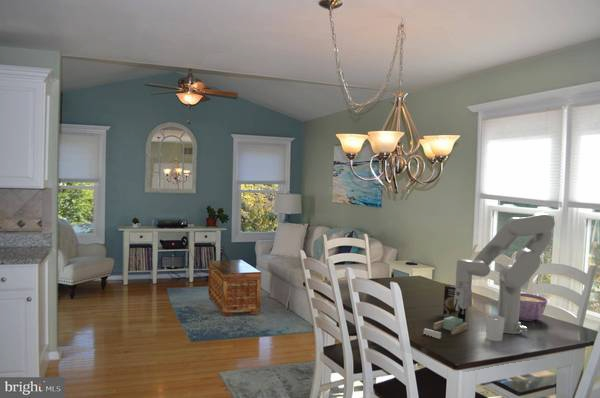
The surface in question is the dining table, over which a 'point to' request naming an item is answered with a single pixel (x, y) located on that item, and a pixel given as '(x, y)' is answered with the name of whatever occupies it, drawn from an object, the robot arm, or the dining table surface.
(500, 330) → the white cup
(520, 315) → the bowl of food
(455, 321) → the block
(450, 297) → the coffee box
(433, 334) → the stop bar
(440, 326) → the channel
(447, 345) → the dining table surface
